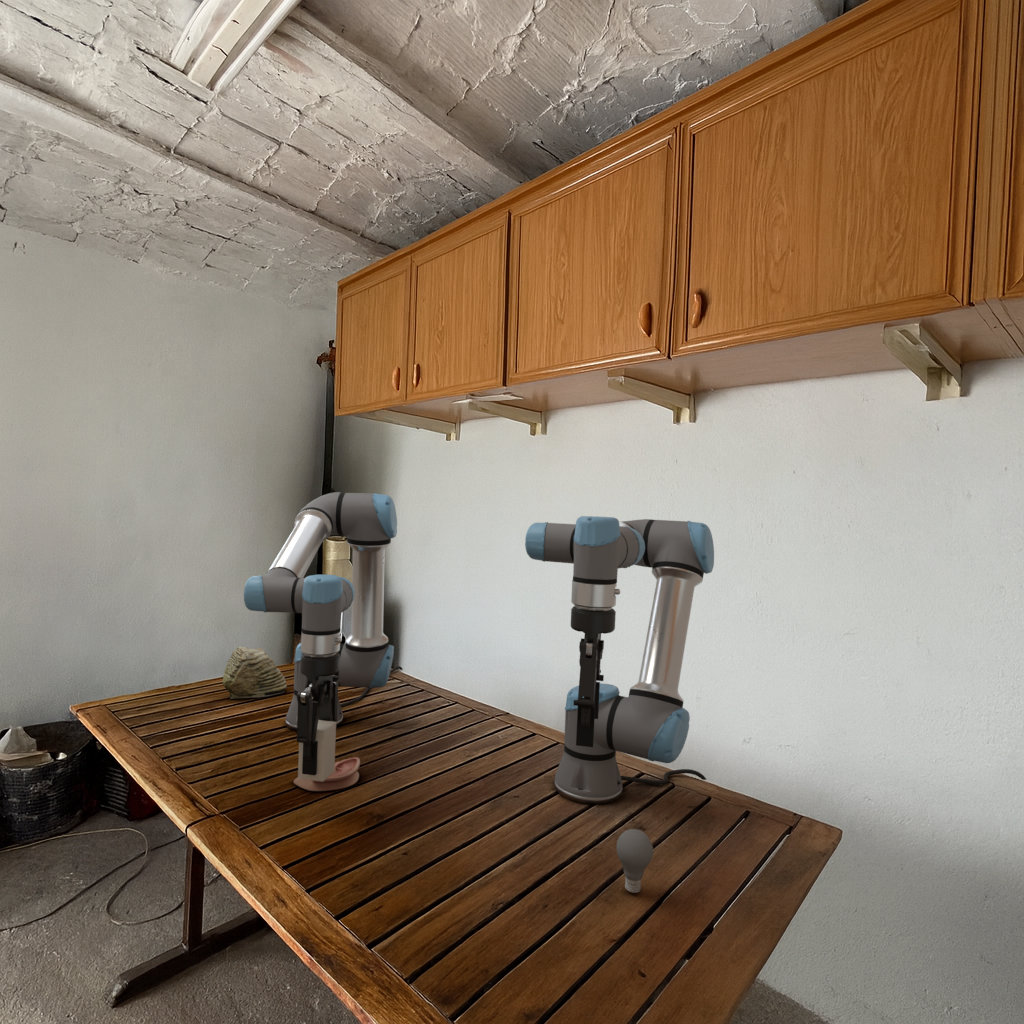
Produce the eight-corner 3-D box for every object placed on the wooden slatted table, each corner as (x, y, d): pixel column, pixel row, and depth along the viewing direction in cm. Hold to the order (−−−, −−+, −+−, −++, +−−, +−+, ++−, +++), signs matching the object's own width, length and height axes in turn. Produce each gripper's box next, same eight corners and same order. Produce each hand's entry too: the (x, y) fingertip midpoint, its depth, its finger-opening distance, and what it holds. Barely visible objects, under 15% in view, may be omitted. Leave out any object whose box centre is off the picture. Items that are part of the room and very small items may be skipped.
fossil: (218, 695, 195) (220, 647, 195) (278, 685, 208) (279, 640, 207) (228, 703, 189) (230, 653, 188) (289, 692, 201) (290, 645, 201)
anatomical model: (286, 769, 137) (313, 749, 148) (285, 787, 137) (312, 766, 148) (343, 777, 134) (366, 756, 145) (342, 796, 134) (365, 773, 145)
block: (297, 778, 125) (299, 727, 125) (310, 767, 130) (311, 719, 130) (323, 781, 124) (324, 730, 124) (334, 770, 129) (336, 721, 129)
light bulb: (610, 879, 108) (613, 822, 108) (644, 879, 109) (647, 822, 109) (619, 902, 102) (622, 840, 102) (655, 901, 103) (658, 840, 103)
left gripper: (316, 666, 117) (311, 790, 118) (357, 644, 135) (353, 752, 135) (278, 662, 118) (274, 785, 119) (324, 641, 136) (320, 748, 137)
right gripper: (613, 621, 95) (606, 762, 95) (617, 598, 119) (612, 709, 120) (563, 617, 96) (557, 756, 97) (578, 595, 121) (572, 705, 121)
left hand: (316, 767), depth 127 cm, fingers closed on block, 5 cm apart
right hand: (587, 731), depth 108 cm, fingers open, 13 cm apart
